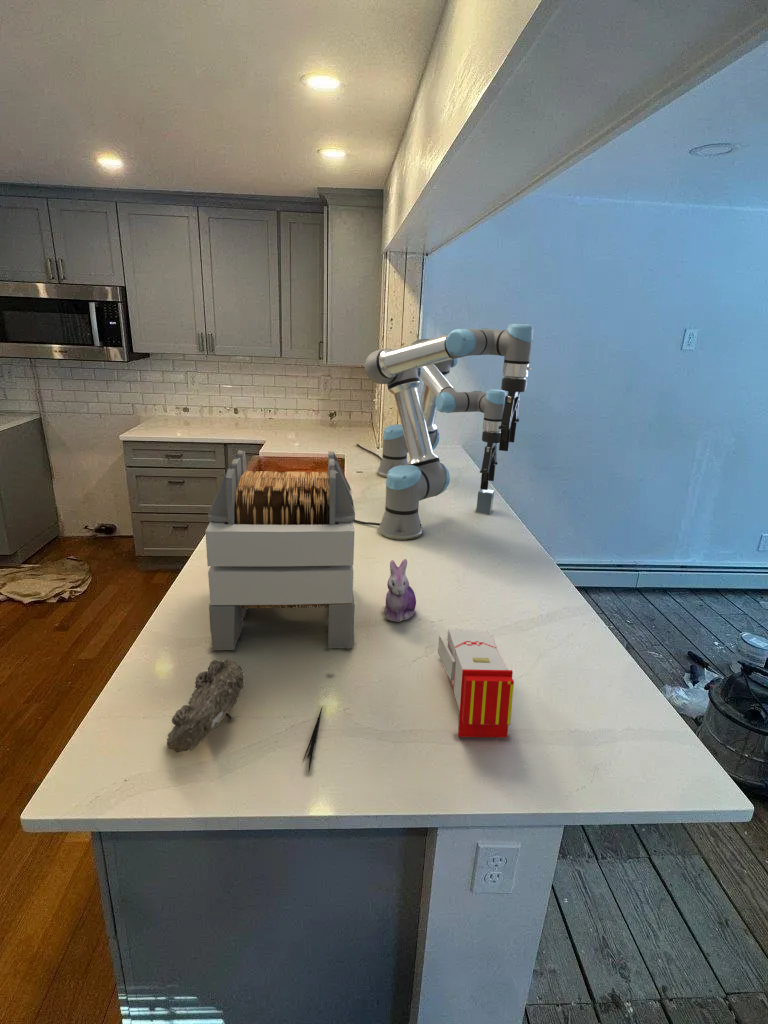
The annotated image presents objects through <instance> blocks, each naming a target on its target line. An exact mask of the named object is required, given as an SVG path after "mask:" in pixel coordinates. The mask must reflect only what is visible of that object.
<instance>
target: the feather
mask: <svg viewBox="0 0 768 1024" xmlns="http://www.w3.org/2000/svg"><path fill="white" fill-rule="evenodd" d="M329 675H330V676H331V675H332V674H331V673H330V674H329ZM322 710H323V707H321V708H320V710H319V713H318V716H317V719H316V723H315V725H314V728H313V731H312V733H311V737H310V739H309V742H308V745H307V748H306V751H305V754H304V757H303V760H302V763H301V767H302V765H303V763H304V761H305V758H308V759H309V760H308V762H307V763H308V764H307V766H308V771H310V770H311V766H312V765H311V764H312V760H313V757H315V756H314V755H315V751H316V749H315V746H317V739H318V733H319V729H320V722H321V717H322V712H323V711H322ZM313 754H314V755H313ZM306 755H307V757H306Z"/></svg>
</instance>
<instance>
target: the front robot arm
mask: <svg viewBox="0 0 768 1024" xmlns="http://www.w3.org/2000/svg"><path fill="white" fill-rule="evenodd" d="M533 337H534V327H533V326H532V325H531V324H525V323H524V324H521V323H509V324H508V325H507V329H504V330H503V329H493V328H492V329H491V328H463V327H462V328H457V329H453V330H451V331H450V332H449V333H447V334H443V335H440V336H436V337H433V338H428V339H429V340H426V341H422V342H419V343H416V344H412V343H411V344H412V345H411V344H409V345H405V346H402V347H399V348H395V349H394V348H393V349H392V348H384V349H377V350H374V351H372V352H371V353H369V355H368V356H367V357H366V359H365V363H364V371H365V374H366V376H367V377H368V378H369V380H370V381H371V382H373V383H375V384H379V385H386V387H387V390H388V392H389V393H390V394H392V395H393V396H394V401H395V404H396V408H397V412H398V417H399V419H400V420H399V421H400V424H402V428H403V432H404V436H405V440H406V444H407V448H408V454H409V462H408V465H404V466H403V465H399V466H396V467H393V468H391V469H390V470H389V471H388V473H387V478H386V479H385V504H384V505H385V507H384V508H385V509H384V513H383V515H382V519H381V522H373V521H371V522H370V521H361V520H358V519H355V520H354V521H353V523H356V524H361V525H367V526H368V525H369V526H378V533H379V534H380V535H381V536H382V537H385V538H387V539H389V540H395V541H410V540H415V539H418V538H420V537H421V536H422V535H423V525H422V523H421V518H420V515H419V507H420V506H419V505H420V501H423V500H426V499H430V498H434V497H437V496H439V495H441V494H442V493H443V494H444V492H445V491H446V490H447V489H448V487H449V485H450V481H451V474H450V470H449V469H448V467H447V466H446V465H445V464H444V463H442V462H441V460H440V457H439V456H438V455H437V454H435V453H434V450H432V446H431V442H430V438H429V434H428V430H427V426H426V422H425V418H424V414H423V410H422V406H421V402H420V401H421V398H420V394H419V390H418V387H419V386H420V384H421V381H420V378H421V377H420V376H421V372H422V367H424V366H428V365H432V364H436V363H440V362H444V361H448V360H452V359H456V358H458V359H461V358H464V357H469V356H498V357H499V356H501V357H503V364H502V373H501V374H502V376H503V377H502V378H501V386H500V390H504V391H505V392H507V395H506V397H505V405H504V411H503V416H502V422H501V426H499V429H501V435H500V443H498V451H501V452H509V446H510V443H515V439H516V430H517V423H519V422H520V418H519V405H520V400H521V399H520V394H521V393H525V392H526V391H527V385H528V379H527V378H528V376H529V371H531V370H532V368H531V367H530V360H531V359H530V358H531V353H532V346H533V342H534V340H533Z"/></svg>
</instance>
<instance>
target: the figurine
mask: <svg viewBox="0 0 768 1024" xmlns="http://www.w3.org/2000/svg"><path fill="white" fill-rule="evenodd" d="M407 567H408V559H406V558H404V559H403V560H402V561H401V563H400V565H399V566H398V565H397V563H396V562H395V561H394V560H393V559H391V560H390V561H389V570H390V576H389V578H388V579H387V589H388V591H387V592H386V594H385V595H386V596H385V607H384V615H385V616H386V620H387V621H391V622H395V623H400V622H402V621H406V620H409V619H410V618H411V617H413V616H414V615H415V610H416V606H417V597H416V593H415V591H414V590H413V587H411V586H410V582H409V579H408V577H407V574H406V571H407Z"/></svg>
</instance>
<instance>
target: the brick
mask: <svg viewBox="0 0 768 1024" xmlns="http://www.w3.org/2000/svg"><path fill="white" fill-rule="evenodd" d="M494 497H495V490H494V489H488V490H483V489H480V488H479V490H478V491H477V499H476V508H475V513H478V514H484V515H491V513H492V512H493V507H494Z"/></svg>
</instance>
